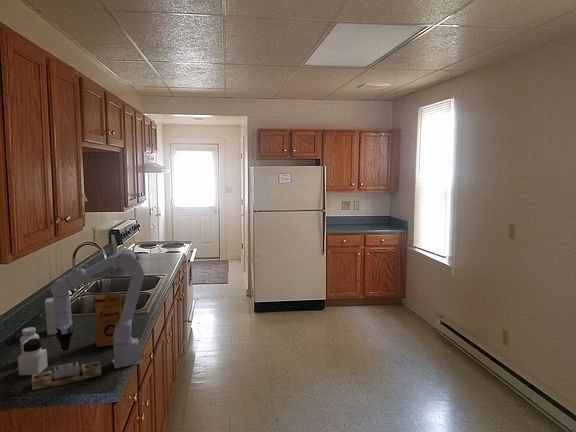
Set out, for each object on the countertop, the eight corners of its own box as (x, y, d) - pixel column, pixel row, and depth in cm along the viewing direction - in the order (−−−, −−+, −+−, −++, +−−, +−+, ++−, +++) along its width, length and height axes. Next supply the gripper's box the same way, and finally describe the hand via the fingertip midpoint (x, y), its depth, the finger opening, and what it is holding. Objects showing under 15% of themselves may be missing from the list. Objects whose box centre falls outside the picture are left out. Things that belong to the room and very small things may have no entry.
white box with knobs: (79, 374, 165) (78, 360, 164) (79, 379, 161) (78, 364, 160) (54, 379, 161) (53, 364, 160) (54, 384, 157) (53, 369, 157)
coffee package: (126, 346, 190) (123, 295, 187) (94, 350, 186) (91, 298, 184) (127, 337, 199) (124, 289, 197) (96, 341, 195) (93, 292, 193)
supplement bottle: (44, 356, 180) (41, 326, 179) (35, 363, 174) (33, 332, 172) (27, 357, 180) (24, 326, 179) (18, 364, 173) (15, 332, 172)
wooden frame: (99, 367, 169) (98, 359, 169) (101, 375, 163) (101, 367, 163) (33, 381, 159) (32, 372, 159) (32, 390, 153) (31, 381, 152)
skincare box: (62, 333, 205) (60, 300, 203) (46, 336, 202) (43, 302, 200) (64, 327, 212) (62, 296, 211) (48, 329, 210) (46, 297, 208)
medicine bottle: (48, 366, 171) (45, 336, 170) (38, 375, 164) (35, 343, 163) (29, 366, 171) (26, 336, 170) (18, 375, 164) (16, 344, 163)
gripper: (49, 307, 169) (52, 342, 171) (50, 318, 157) (53, 355, 158) (70, 304, 173) (72, 338, 174) (73, 315, 160) (75, 351, 162)
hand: (64, 346), depth 167 cm, fingers open, 7 cm apart
